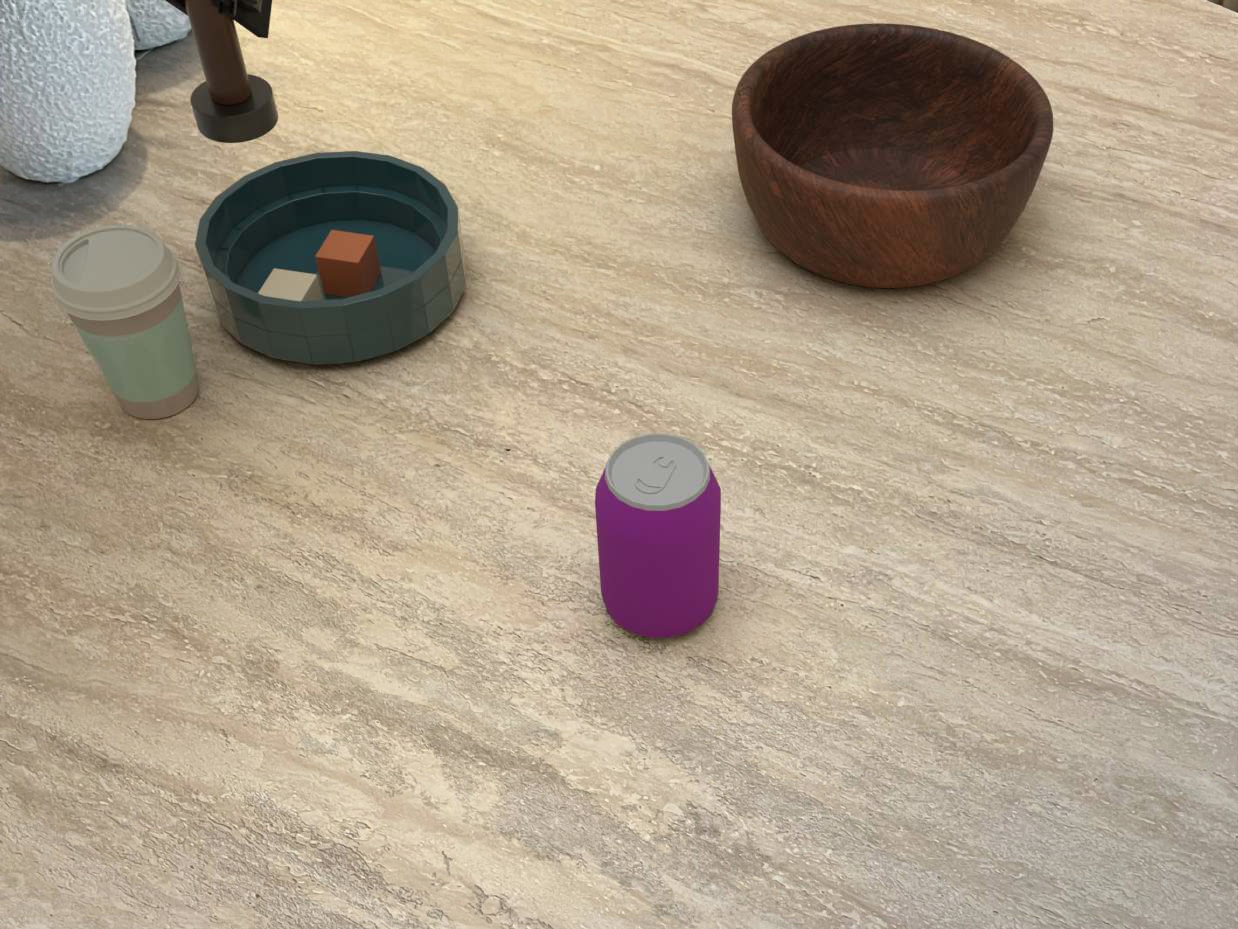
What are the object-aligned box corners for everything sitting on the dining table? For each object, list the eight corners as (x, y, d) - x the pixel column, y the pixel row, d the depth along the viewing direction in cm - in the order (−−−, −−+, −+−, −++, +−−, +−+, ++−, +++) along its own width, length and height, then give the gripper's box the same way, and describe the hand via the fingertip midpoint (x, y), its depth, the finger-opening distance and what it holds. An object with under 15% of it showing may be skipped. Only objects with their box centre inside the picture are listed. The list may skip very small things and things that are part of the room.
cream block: (266, 334, 111) (255, 296, 108) (283, 305, 113) (273, 267, 110) (309, 340, 111) (299, 302, 108) (326, 311, 113) (317, 274, 110)
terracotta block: (323, 294, 114) (314, 256, 111) (339, 267, 116) (331, 229, 113) (366, 300, 114) (358, 262, 111) (381, 273, 116) (374, 235, 113)
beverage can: (637, 543, 99) (632, 409, 90) (738, 582, 97) (744, 449, 87) (580, 620, 95) (568, 487, 86) (684, 663, 93) (684, 532, 83)
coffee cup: (150, 342, 112) (99, 206, 102) (241, 375, 109) (198, 239, 100) (75, 411, 107) (15, 274, 97) (168, 447, 105) (117, 311, 95)
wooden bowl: (954, 113, 131) (973, 0, 123) (1083, 279, 117) (1113, 164, 109) (689, 161, 126) (690, 47, 118) (789, 340, 112) (797, 224, 104)
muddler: (184, 137, 102) (107, -118, 88) (217, 94, 105) (149, -158, 91) (259, 148, 101) (194, -108, 87) (290, 104, 104) (232, -149, 91)
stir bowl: (174, 351, 111) (151, 285, 106) (274, 202, 123) (257, 137, 118) (419, 389, 109) (407, 324, 104) (498, 233, 120) (490, 169, 115)
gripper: (-102, -76, 79) (129, 56, 102) (170, -43, 77) (343, 85, 100) (-90, -224, 78) (140, -56, 101) (186, -194, 76) (357, -30, 99)
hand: (240, 14), depth 101 cm, fingers closed on muddler, 3 cm apart
